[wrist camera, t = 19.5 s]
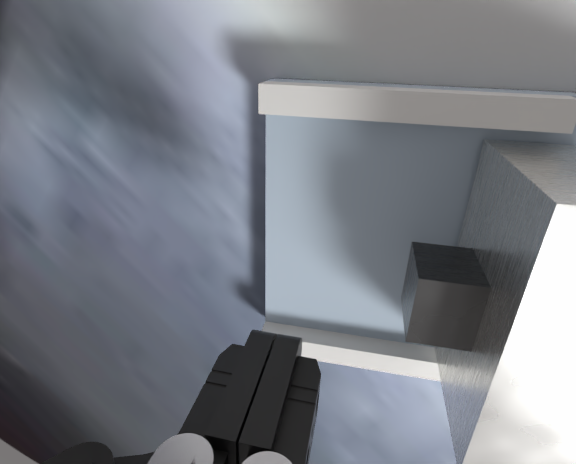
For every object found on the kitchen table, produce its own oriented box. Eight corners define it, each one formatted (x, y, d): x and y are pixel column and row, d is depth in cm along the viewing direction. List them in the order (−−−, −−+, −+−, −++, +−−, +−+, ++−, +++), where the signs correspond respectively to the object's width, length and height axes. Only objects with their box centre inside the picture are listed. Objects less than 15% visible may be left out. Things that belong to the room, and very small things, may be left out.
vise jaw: (581, 145, 13) (727, 219, 7) (505, 352, 17) (565, 495, 11) (423, 134, 14) (454, 194, 8) (387, 334, 18) (392, 460, 12)
